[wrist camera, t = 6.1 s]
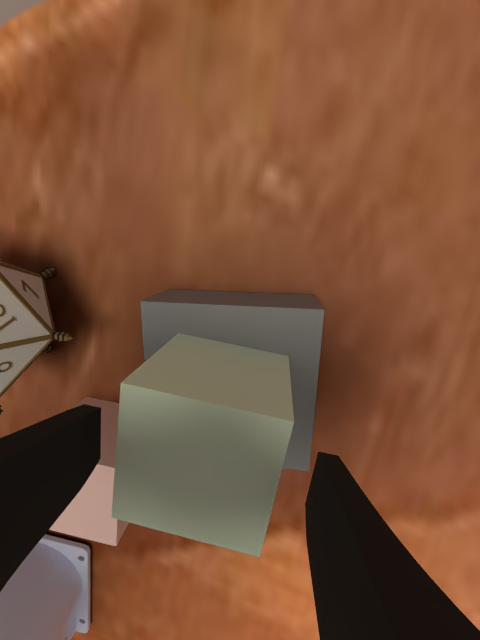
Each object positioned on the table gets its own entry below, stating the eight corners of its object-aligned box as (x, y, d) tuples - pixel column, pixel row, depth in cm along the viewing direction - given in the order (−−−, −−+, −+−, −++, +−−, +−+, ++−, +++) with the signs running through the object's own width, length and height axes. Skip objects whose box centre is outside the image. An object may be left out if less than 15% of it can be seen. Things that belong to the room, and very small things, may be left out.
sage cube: (266, 451, 14) (260, 557, 9) (167, 427, 15) (111, 517, 10) (288, 355, 13) (294, 422, 8) (178, 332, 13) (120, 382, 8)
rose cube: (154, 474, 20) (116, 546, 15) (86, 458, 21) (28, 524, 16) (160, 411, 19) (119, 469, 14) (86, 396, 19) (23, 447, 14)
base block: (302, 422, 18) (309, 471, 14) (176, 411, 19) (150, 453, 15) (313, 293, 16) (324, 309, 12) (171, 288, 17) (140, 301, 13)
